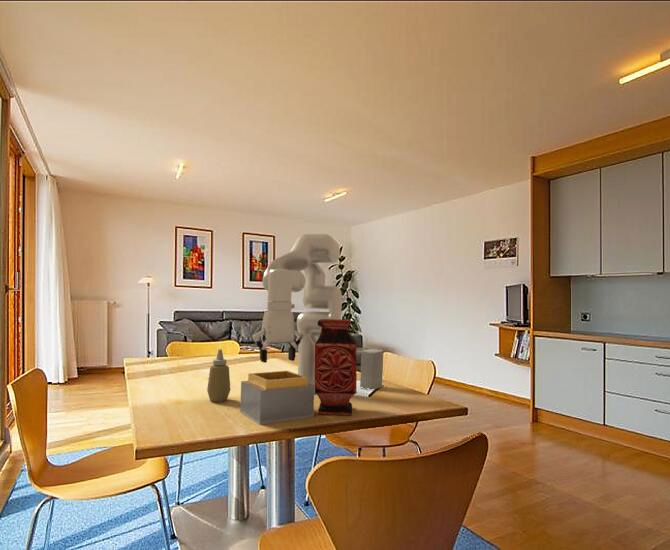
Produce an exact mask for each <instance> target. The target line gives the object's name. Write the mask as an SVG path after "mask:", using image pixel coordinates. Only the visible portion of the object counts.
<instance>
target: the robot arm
mask: <svg viewBox="0 0 670 550" xmlns="http://www.w3.org/2000/svg"><path fill="white" fill-rule="evenodd" d="M340 256H341V249H340V246H339V244H338V242H337V241H336V240H335V239H334V238H333V236H331V235H329V234H326V233H308V234H307V233H305V234H302V235H301V234H300V236H299V237H297V239H296V240H295V242H294V244H293V246H292V248H291V249H290V251H289V252H287V253H285V254H283V255H281V256H279V257H277V258H275V259H274V260H272V261H271V262H270V263H269V265H267V267H266V269H265V270H264V273H263V276H262V279H261V280H262V287H263V288H264V289H265V290H266V292H267V307H266V308H267V311H264V314H263V318H262V325H261V330H259V331H258V332H256V333H255V334H253V335H251V336H252V340H253V341H254V344H255V345H256V346H257V347H258V349H259V360H260V362H262V363H263V364H264V363H265V364H266V363H267V362H268V349H267V347H268V346H269V345H270V344H288V346H289V347H288V352H287V353H288V354H287V355H288V357H287V359H288V360H289V361H291V362H295V359H296V354H297V355H298V356H297V357H298V358H297V359H298V360H297V374H299V375H302V376H305V377H307V383H309V384H312V385H314V394H316V393H315V343H316V342H317V340H318V338H319V337H317V336H320V334H321V329H322V327H321V326H318V324H317V323H318V321H319V320H320V319H340V320H342V303H343V295H342V291H341V289H340V288H339V287H338V286H334V285H326V273H325V271H324V269H323V268H322V267H321V266H320V265H319V264H320V263H321V264H323V263H324V264H326V263H327V264H330V263H331V264H333V263H336V262H338V261H339V260H340ZM302 271H303V272H304V273H303V272H302ZM302 290H303V297H302V302H303V305H304V307H305V308H308V309H312V310H316V309H317V310H329V311H309V310H307V311H303V312H301V313H299V314H298V316H297V319H296V326H297V327H296V328H297V330H296V329H295V318H294V314H293V313H294V312H293V311H292V309H294V308H295V304H294V303H292V293H299V292H301V291H302ZM295 336H296V339H295ZM260 337H261V338H260ZM260 339H261V341H260ZM297 348H298V353H296V349H297Z"/></svg>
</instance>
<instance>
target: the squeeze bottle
mask: <svg viewBox="0 0 670 550" xmlns="http://www.w3.org/2000/svg"><path fill="white" fill-rule="evenodd" d="M227 363H228V361H227V359H225V358H224V354H223V349H220V348H219V349H218V351H217V354H216V358H215V359H213V361H212V365H211V366H210V367H209V373H208V382H207V389H206V391H207V394H208V398H209V401H210V402H214V403H222V402H225V401H227V400H228V398H229V395H230V392H231V380H230V379H231V378H230V377H231V376H230V367H229V366H228V364H227Z"/></svg>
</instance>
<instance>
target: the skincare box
mask: <svg viewBox="0 0 670 550" xmlns="http://www.w3.org/2000/svg"><path fill="white" fill-rule="evenodd" d="M360 358H361V359H360V361H361V362H360V378H359V379H360V380H359V381H360V382H359V384H360V385H359V388H360V387H363V388H369V389H375V390H377V389H380V388H382V387H383V374H384V373H383V372H384V371H383V370H384V369H383V368H384V350H382V349H376V348H369V349H366V350H361V355H360ZM363 388H362V389H363Z"/></svg>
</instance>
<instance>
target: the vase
mask: <svg viewBox="0 0 670 550" xmlns="http://www.w3.org/2000/svg"><path fill="white" fill-rule="evenodd" d="M317 324H318V326H321V327H322V329H321V334H320V336H319V337H317V338H318V340H317V342H316V343H315V393H314V394H316V395H317V396H318V398H319V401H320V403H319V407H318V410H317V412H318V415H320V416H321V415H328V416H352V415H353V404H352V402H351V399H352V398H353V396H355V395H356V394H357V393H358V392H357V383H358V382H357V381H358V379H357V340H356V338H354V336H353V335H351V333H350V331H349V327H351V325H352V320H351V319H341V320H340V319H320V320H319V321H318V323H317Z"/></svg>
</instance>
